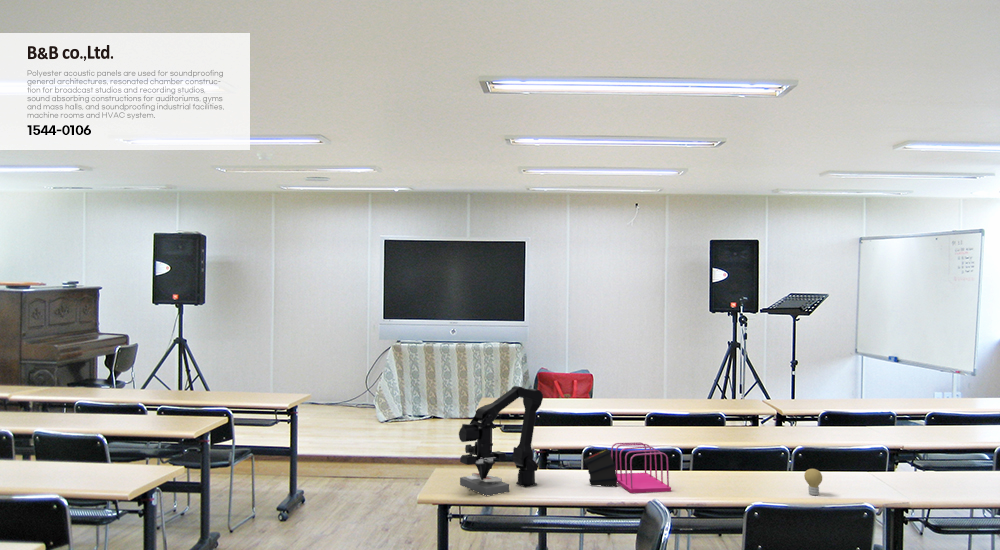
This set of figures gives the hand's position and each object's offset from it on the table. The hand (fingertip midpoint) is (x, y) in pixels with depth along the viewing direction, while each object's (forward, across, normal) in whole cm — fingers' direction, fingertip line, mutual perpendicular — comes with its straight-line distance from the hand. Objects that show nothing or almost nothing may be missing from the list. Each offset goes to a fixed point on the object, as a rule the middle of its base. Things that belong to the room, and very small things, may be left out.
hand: (483, 479), depth 248 cm
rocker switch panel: (+5, -4, -5) cm, 8 cm away
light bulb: (+2, -108, +75) cm, 131 cm away
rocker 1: (0, -4, -6) cm, 7 cm away
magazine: (+4, -47, +18) cm, 50 cm away
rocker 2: (0, -4, 0) cm, 4 cm away
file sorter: (+4, -62, +26) cm, 67 cm away
